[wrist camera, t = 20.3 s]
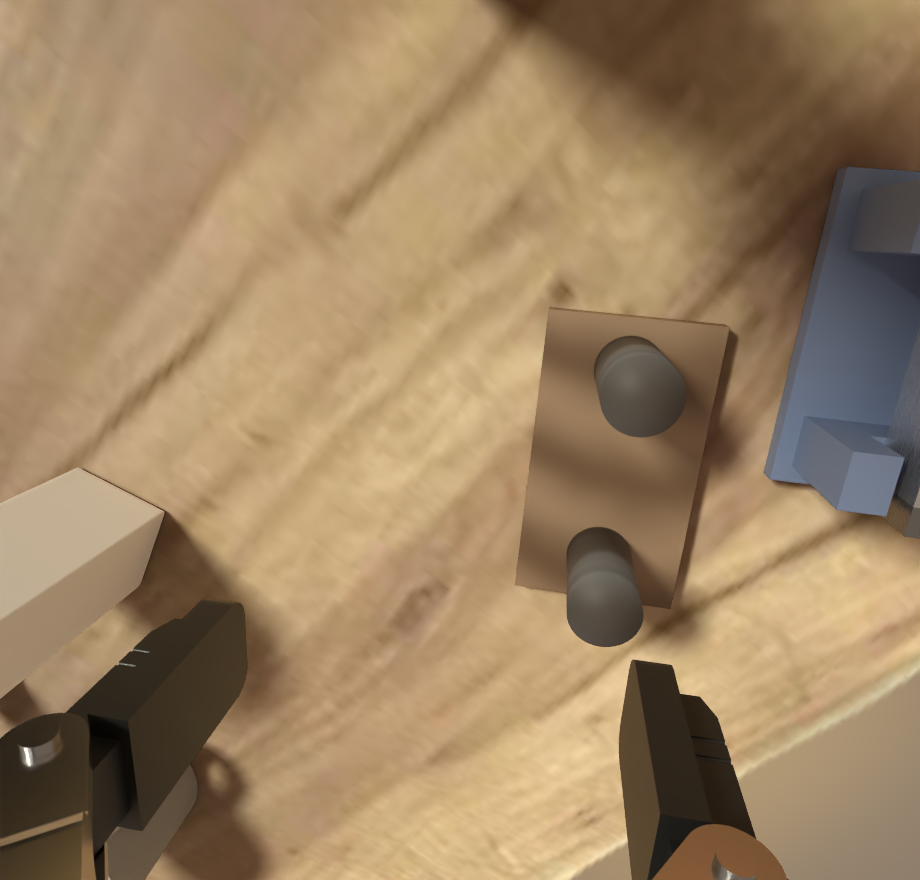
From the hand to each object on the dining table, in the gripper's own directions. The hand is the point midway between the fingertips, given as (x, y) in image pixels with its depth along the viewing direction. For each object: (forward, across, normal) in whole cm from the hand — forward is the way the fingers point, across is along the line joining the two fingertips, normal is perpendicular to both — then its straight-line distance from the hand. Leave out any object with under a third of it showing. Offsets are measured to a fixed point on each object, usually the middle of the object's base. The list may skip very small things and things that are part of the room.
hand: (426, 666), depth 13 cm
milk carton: (+28, +29, +14) cm, 43 cm away
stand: (+28, -6, +5) cm, 29 cm away
